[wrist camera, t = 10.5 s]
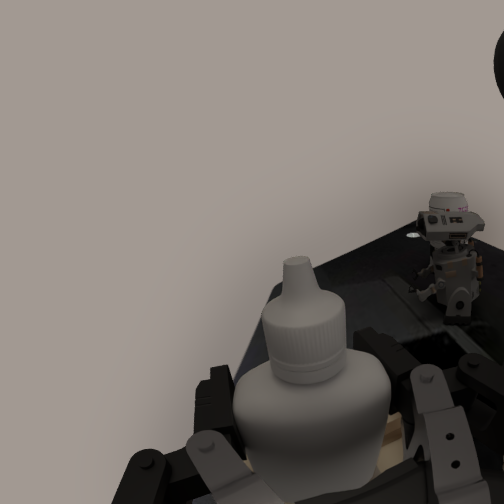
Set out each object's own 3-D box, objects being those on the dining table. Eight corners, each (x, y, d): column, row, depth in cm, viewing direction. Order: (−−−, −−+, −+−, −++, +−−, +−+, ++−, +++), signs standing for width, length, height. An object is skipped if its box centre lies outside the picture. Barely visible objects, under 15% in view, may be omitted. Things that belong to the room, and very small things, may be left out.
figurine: (411, 295, 41) (409, 205, 37) (472, 296, 34) (477, 204, 30) (406, 324, 34) (407, 218, 30) (479, 326, 27) (491, 217, 23)
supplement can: (433, 261, 51) (431, 191, 47) (467, 264, 45) (467, 192, 41) (426, 275, 46) (425, 197, 42) (464, 279, 40) (466, 197, 36)
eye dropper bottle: (288, 438, 14) (252, 241, 11) (380, 456, 11) (404, 236, 8) (249, 492, 10) (166, 286, 7) (352, 522, 7) (394, 303, 4)
